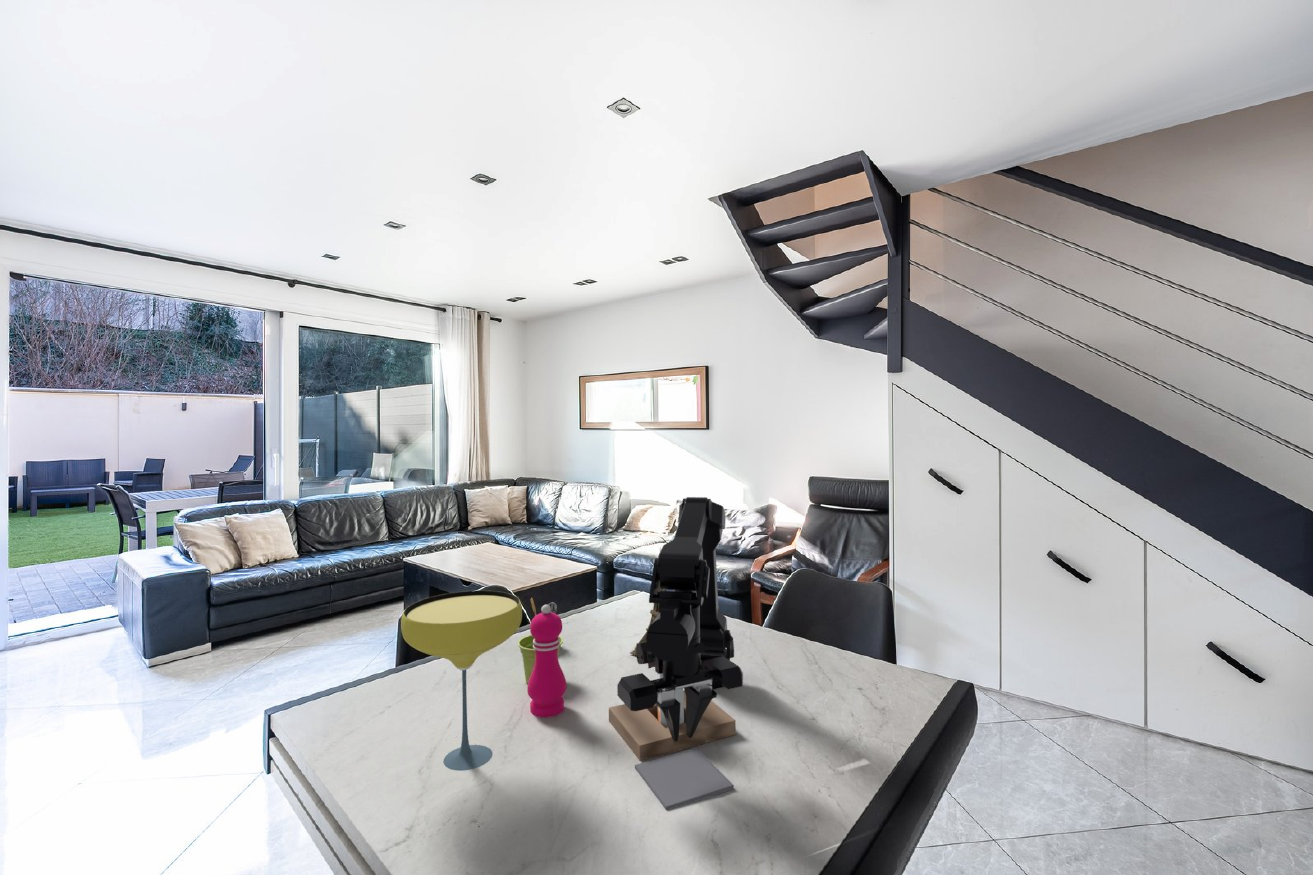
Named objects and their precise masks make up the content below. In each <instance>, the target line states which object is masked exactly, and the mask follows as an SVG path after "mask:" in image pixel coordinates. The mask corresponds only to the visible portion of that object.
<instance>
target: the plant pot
mask: <svg viewBox="0 0 1313 875" xmlns="http://www.w3.org/2000/svg"><path fill="white" fill-rule="evenodd" d="M558 637H559V638H560V641H559V643H560V646H559V647H558V651H557V655H558V657H559V655H560V651H561V648H562V645H563V643H564V638H563V637H562V636H561V635H559V636H558ZM534 639H535V638H534V637H533V636H532V635H531V634H530V635H527V636H524V637H522V638H520V639H519V640H517V641H518V642H517V647H519V649H520V653H521V657H522V663H523V670H524V677H525V684H527V685H528V682H529V678H530V676H531V674H532V671H533V669H534V666H535V659H536V652H535V649H534V648H533V645H534V644H533V640H534Z"/></svg>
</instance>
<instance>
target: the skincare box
mask: <svg viewBox="0 0 1313 875" xmlns="http://www.w3.org/2000/svg"><path fill="white" fill-rule="evenodd" d="M660 678H662V674H658V673H657V672H656V679H660ZM683 691H684V688H681V689H676V690H675V699H676V700H677V701H678V702H680V724H683V723H684V692H683ZM657 720H658V721H659V722H660V723H661V724H662V725H663V726H664V727H665V728H668V725H667V722H666V720H665V717H664V714H663V712H662V710H661V709H660V708H659V707H658V719H657Z"/></svg>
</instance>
